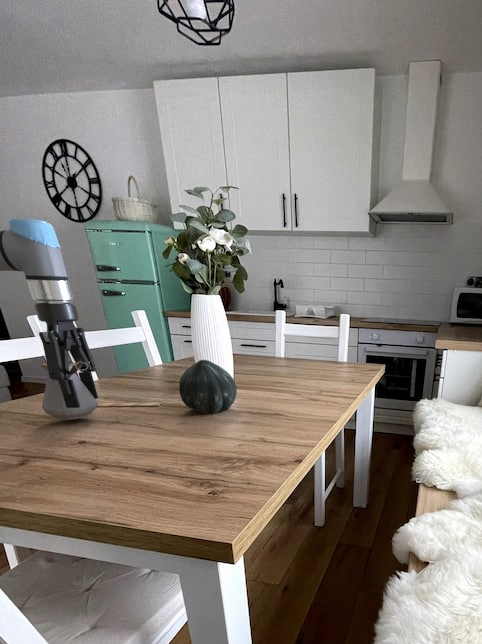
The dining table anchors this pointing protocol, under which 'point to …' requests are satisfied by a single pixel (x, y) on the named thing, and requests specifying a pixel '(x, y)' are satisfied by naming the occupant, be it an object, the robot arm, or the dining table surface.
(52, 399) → the coffee pot
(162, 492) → the dining table surface
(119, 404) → the oak strip
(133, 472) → the dining table surface
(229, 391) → the squash
